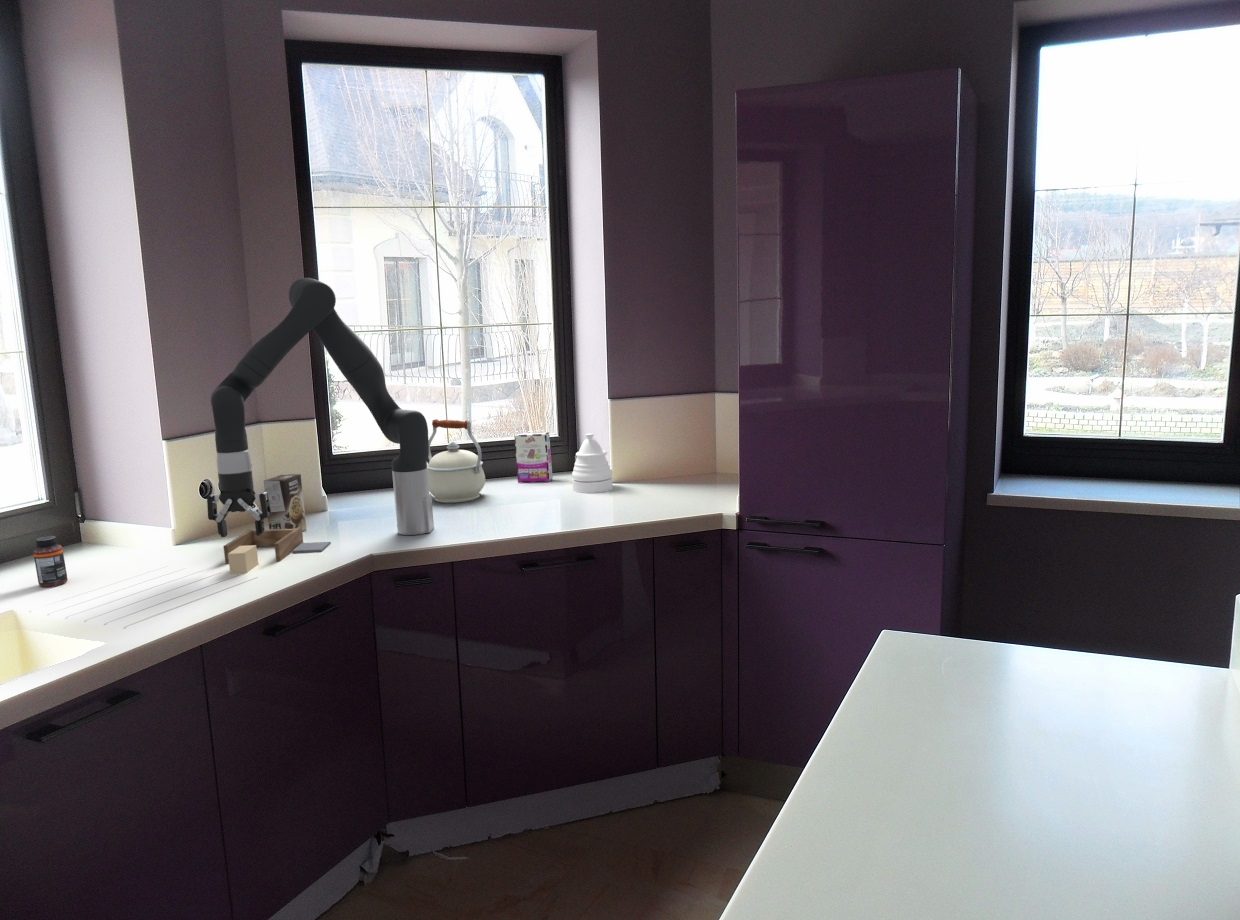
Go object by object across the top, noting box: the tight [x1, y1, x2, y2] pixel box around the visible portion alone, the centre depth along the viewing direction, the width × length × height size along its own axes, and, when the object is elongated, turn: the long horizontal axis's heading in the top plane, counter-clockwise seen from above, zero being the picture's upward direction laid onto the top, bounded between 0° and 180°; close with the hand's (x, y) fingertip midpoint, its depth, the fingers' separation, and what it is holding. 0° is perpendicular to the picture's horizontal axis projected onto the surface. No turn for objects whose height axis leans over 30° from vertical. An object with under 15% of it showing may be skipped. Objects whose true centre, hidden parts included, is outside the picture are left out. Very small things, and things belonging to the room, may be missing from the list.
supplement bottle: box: [33, 535, 68, 588], centre depth 219 cm, size 6×6×11 cm
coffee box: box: [263, 473, 308, 533], centre depth 257 cm, size 9×6×16 cm
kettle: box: [427, 418, 486, 504], centre depth 293 cm, size 25×18×25 cm
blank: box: [228, 545, 259, 575], centre depth 225 cm, size 4×7×5 cm, turn 0°
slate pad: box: [291, 541, 332, 554], centre depth 241 cm, size 8×8×1 cm
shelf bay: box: [223, 528, 304, 565], centre depth 239 cm, size 14×17×4 cm
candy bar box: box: [514, 431, 553, 484], centre depth 314 cm, size 11×5×16 cm, turn 81°
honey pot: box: [571, 433, 614, 494], centre depth 297 cm, size 13×13×18 cm
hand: (242, 535), depth 225 cm, fingers open, 8 cm apart
